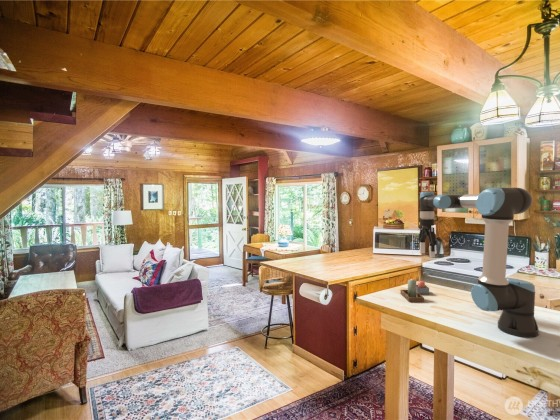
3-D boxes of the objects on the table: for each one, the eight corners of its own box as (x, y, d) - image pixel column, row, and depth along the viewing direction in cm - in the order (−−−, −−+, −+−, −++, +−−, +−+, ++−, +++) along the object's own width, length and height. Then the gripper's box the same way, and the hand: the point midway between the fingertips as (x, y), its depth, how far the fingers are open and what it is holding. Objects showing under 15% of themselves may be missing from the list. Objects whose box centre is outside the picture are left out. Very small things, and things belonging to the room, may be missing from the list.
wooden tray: (424, 302, 189) (424, 297, 188) (408, 302, 189) (408, 297, 189) (414, 293, 204) (414, 289, 204) (400, 293, 205) (400, 289, 205)
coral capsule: (425, 292, 204) (425, 282, 204) (419, 292, 204) (419, 282, 204) (423, 290, 208) (423, 281, 208) (416, 290, 208) (416, 280, 208)
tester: (429, 294, 202) (429, 288, 202) (417, 294, 203) (417, 287, 203) (424, 291, 209) (424, 284, 209) (413, 290, 210) (413, 284, 210)
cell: (417, 298, 194) (417, 280, 194) (409, 298, 195) (409, 280, 194) (414, 295, 199) (414, 278, 198) (406, 295, 199) (406, 278, 199)
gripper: (443, 219, 178) (443, 258, 179) (424, 217, 203) (425, 251, 204) (429, 220, 178) (429, 259, 179) (412, 217, 203) (412, 251, 204)
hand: (427, 255), depth 191 cm, fingers open, 13 cm apart
